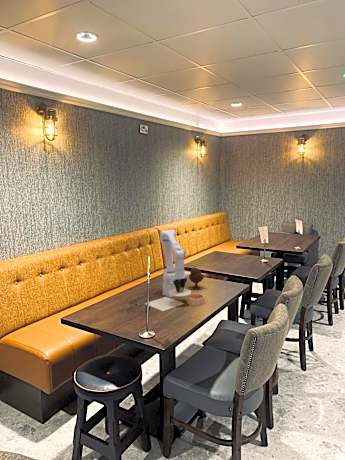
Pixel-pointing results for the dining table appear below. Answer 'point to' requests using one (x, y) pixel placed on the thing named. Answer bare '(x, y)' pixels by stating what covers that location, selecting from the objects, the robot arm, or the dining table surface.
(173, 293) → the lid
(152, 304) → the mat
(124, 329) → the dining table surface
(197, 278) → the brown miniature tree
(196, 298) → the bowl
